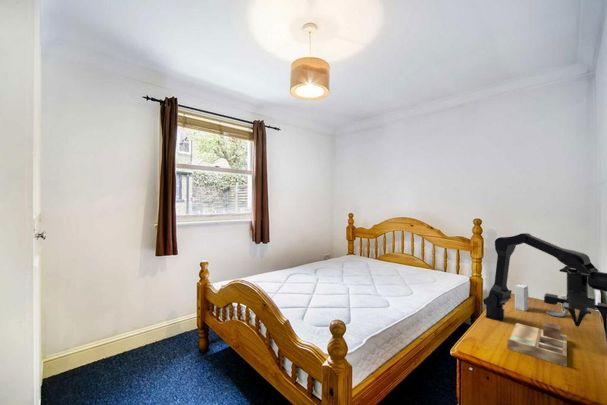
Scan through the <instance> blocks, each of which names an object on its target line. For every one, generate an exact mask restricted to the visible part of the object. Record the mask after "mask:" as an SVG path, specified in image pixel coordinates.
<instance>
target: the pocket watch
mask: <svg viewBox="0 0 607 405" xmlns="http://www.w3.org/2000/svg"><path fill="white" fill-rule="evenodd" d="M562 299H567V295H564V296H563V297H562ZM560 310H561V312H559V311H557V310H552V309H550V310H549V309H548V310H545V312H546V314H547V315H550V316H554V317H558V318H559V317H560V318H562V317H563V318H565V316H567V315H569V311H568V310H567V309H564V304H562V303H560Z"/></svg>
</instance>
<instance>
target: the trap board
mask: <svg viewBox="0 0 607 405" xmlns="http://www.w3.org/2000/svg"><path fill="white" fill-rule="evenodd" d="M567 336H568V335H566V334H562V333H561V338H560V340H558V339H554V338H550V337H547V336H543V328H542V329H541V328H538V327H534V326H529V325H527V324H526V325H525V324H521V323H519V322H517V323H515V325H514V328H513V330H512V332H511V334H510V337H509V338H507V350H509V351H514V352H517V353H521V354H524V355H527V356H530V357H533V358H536V359H540V360H543V361H546V362H550V363H553V364H556V365H561V366H562V367H563V366H564V367H567V366H568V363H567V362H568V359H567V358H568V357H567V356H568V355H567V354H568V353H567V352H568V351H567V350H568V348H567V347H568V346H567V345H568V342H567V341H568V338H567ZM567 368H568V367H567Z"/></svg>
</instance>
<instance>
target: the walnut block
mask: <svg viewBox="0 0 607 405" xmlns="http://www.w3.org/2000/svg"><path fill="white" fill-rule="evenodd" d="M561 328H562V327H561V325H558V324H556V323H555V324H554V323H550V322H546V321H543V325H542V330H543V336H547V337H550V338H554V339H558V340H560V338H561V334H562V332H561Z"/></svg>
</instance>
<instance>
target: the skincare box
mask: <svg viewBox="0 0 607 405" xmlns="http://www.w3.org/2000/svg"><path fill="white" fill-rule="evenodd" d="M529 304H530V303H529V286H528V285H525V284H516V285H514V309H515V310H519V311H522V312H525V311H527V310H529V307H530V306H529Z"/></svg>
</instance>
